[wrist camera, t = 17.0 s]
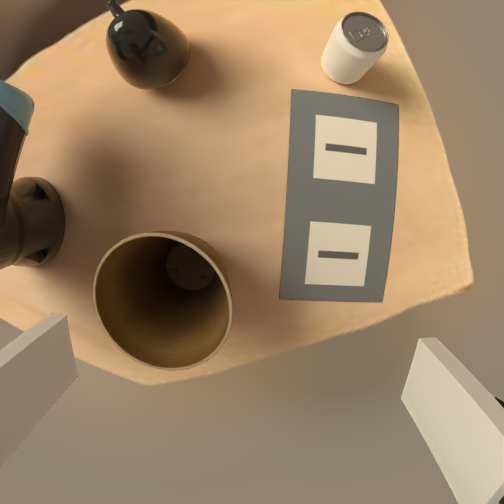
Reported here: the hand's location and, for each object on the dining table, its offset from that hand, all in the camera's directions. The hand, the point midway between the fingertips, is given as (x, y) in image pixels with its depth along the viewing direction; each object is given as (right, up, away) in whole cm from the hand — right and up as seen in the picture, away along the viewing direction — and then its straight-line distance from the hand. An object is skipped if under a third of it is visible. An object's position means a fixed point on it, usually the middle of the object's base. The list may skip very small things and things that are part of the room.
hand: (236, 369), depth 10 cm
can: (+14, +31, +29) cm, 44 cm away
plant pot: (-8, +2, +36) cm, 37 cm away
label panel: (+13, +11, +33) cm, 37 cm away
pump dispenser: (-13, +32, +29) cm, 45 cm away
